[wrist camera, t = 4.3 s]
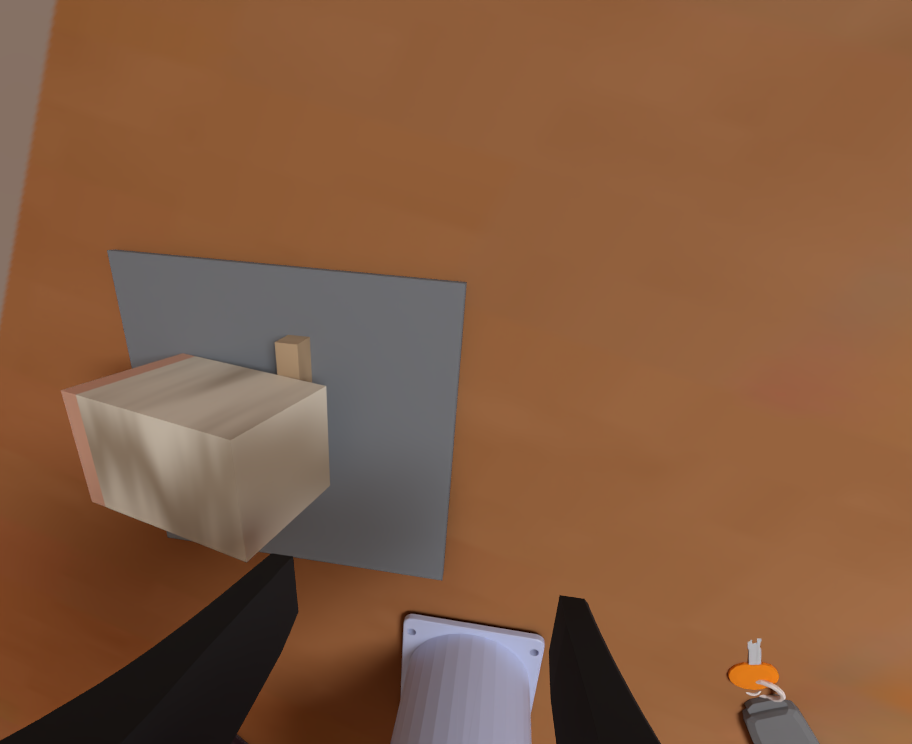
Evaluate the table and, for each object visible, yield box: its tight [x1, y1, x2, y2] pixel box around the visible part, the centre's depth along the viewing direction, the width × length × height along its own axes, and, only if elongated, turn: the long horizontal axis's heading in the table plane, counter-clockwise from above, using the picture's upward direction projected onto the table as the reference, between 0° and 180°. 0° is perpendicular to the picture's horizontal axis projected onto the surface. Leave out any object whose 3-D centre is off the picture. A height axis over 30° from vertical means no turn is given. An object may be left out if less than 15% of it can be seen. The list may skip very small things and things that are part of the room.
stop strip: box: [275, 335, 312, 383], centre depth 20 cm, size 8×1×1 cm, turn 176°
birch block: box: [61, 353, 330, 562], centre depth 18 cm, size 5×5×8 cm
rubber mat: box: [107, 250, 467, 580], centre depth 21 cm, size 16×16×1 cm
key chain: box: [728, 638, 819, 744], centre depth 24 cm, size 13×4×2 cm, turn 31°
